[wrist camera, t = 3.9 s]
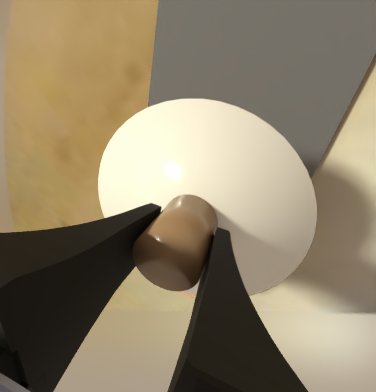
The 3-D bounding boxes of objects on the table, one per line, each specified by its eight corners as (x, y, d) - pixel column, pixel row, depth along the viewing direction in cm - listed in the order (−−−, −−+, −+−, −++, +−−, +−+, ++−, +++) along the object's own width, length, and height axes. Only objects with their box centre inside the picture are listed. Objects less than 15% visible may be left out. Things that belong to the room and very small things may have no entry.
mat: (443, -84, 10) (450, -91, 9) (306, 182, 16) (307, 184, 16) (171, -97, 12) (169, -103, 12) (146, 137, 19) (144, 137, 18)
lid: (373, 135, 8) (468, 167, 4) (261, 316, 13) (261, 393, 10) (102, 74, 10) (16, 62, 6) (106, 252, 16) (61, 296, 12)
